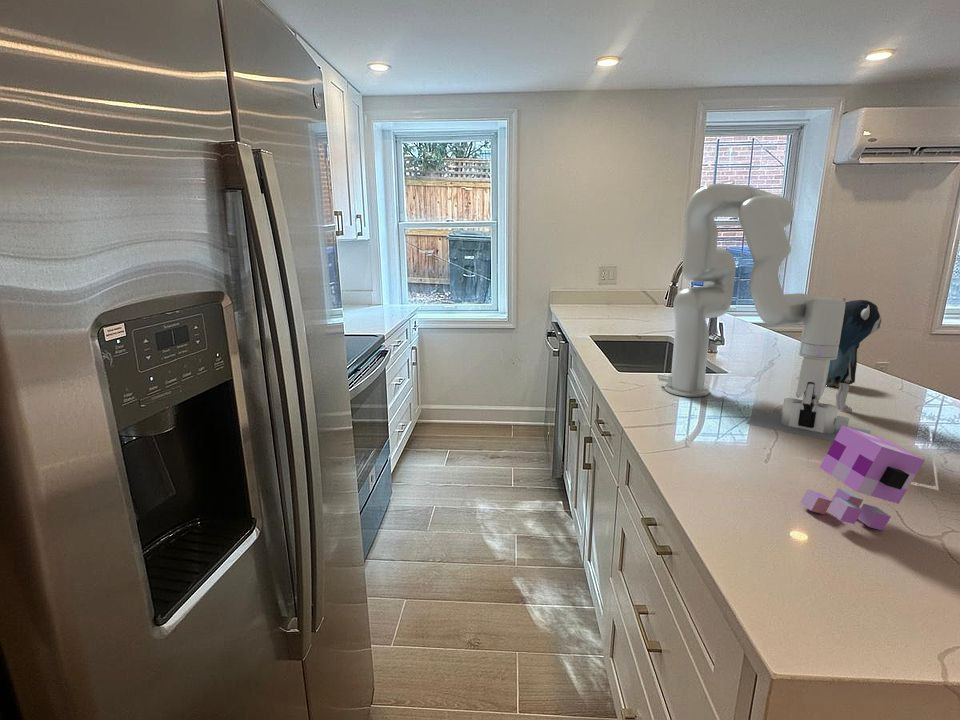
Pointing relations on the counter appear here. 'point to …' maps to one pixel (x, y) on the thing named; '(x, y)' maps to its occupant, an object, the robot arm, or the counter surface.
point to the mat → (775, 423)
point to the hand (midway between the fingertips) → (807, 423)
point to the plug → (823, 419)
